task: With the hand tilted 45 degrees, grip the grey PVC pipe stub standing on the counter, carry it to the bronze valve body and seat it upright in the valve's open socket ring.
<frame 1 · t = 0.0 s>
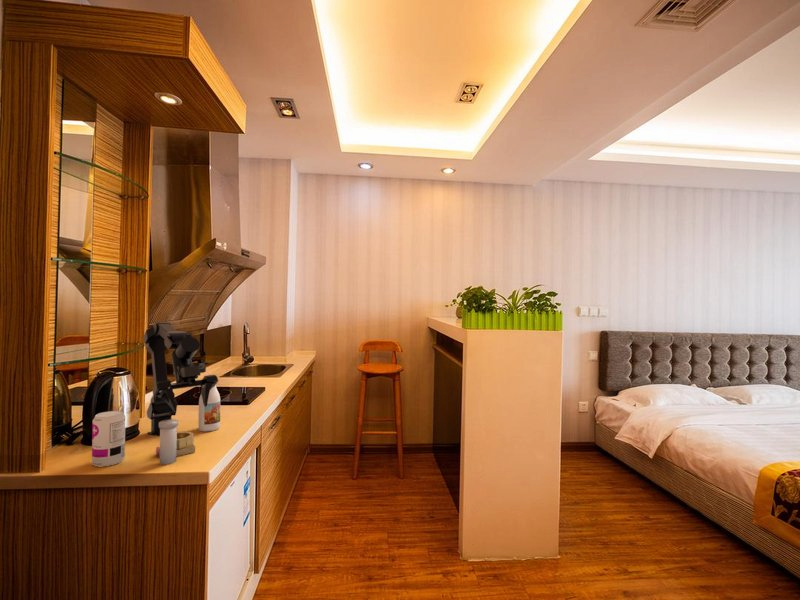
hand: (191, 409, 129), 15 cm above the counter, tool tilted 35°, fingers open, 9 cm apart
pipe stub: (168, 461, 123), on the counter
valve body: (179, 450, 133), on the counter
supplement can: (108, 463, 123), on the counter
milk bottle: (209, 429, 156), on the counter
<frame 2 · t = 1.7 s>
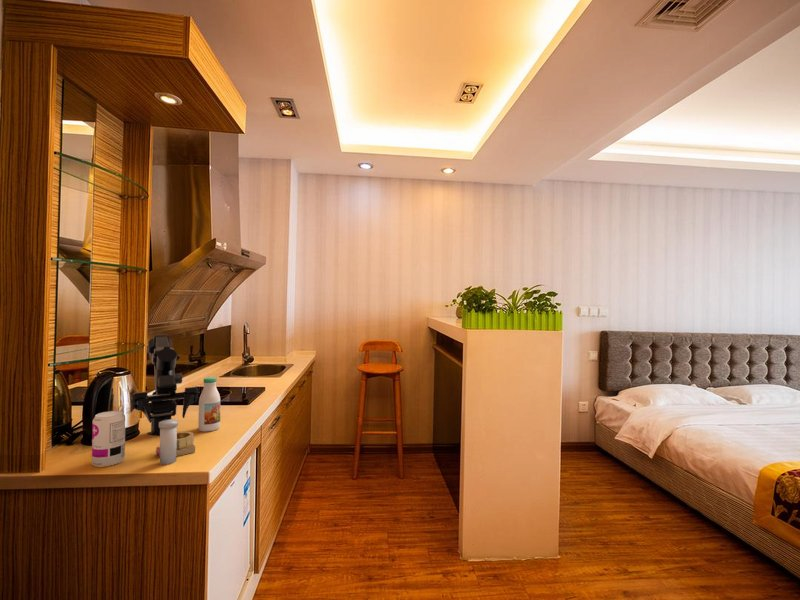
hand: (167, 419, 128), 12 cm above the counter, tool tilted 45°, fingers open, 9 cm apart
nothing on the counter moved.
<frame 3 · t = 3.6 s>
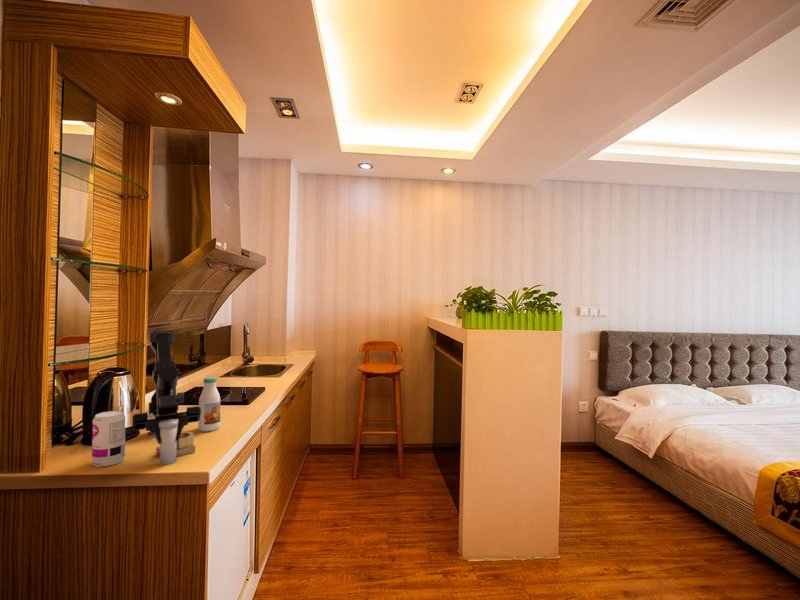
hand: (168, 442, 122), 7 cm above the counter, tool tilted 45°, fingers closed on pipe stub, 4 cm apart
pipe stub: (168, 461, 123), on the counter, touching gripper
everything else where it was.
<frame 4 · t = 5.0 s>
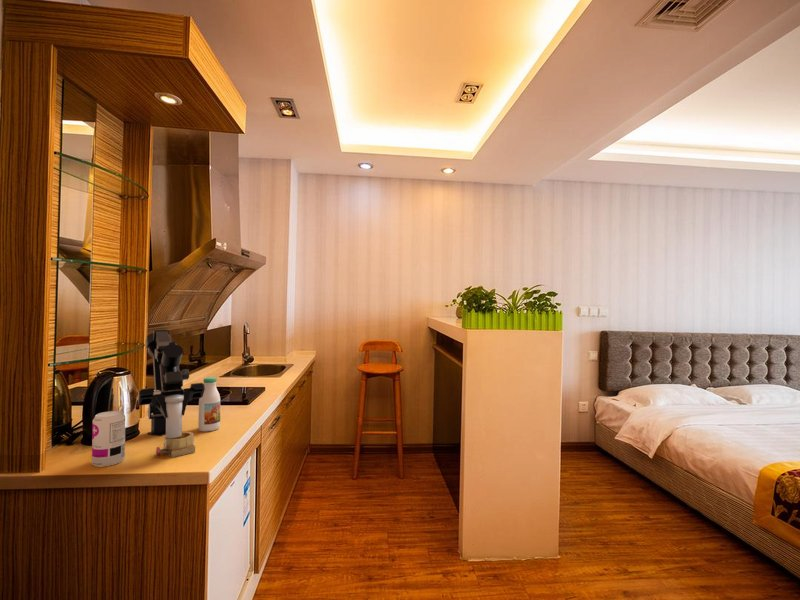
hand: (174, 416, 127), 13 cm above the counter, tool tilted 45°, fingers closed on pipe stub, 4 cm apart
pipe stub: (173, 435, 128), point 7 cm above the counter, touching gripper
everything else where it was.
when the fingers open (9 cm above the counter, at t = 6.7 s): pipe stub stays where it is, resting on valve body.
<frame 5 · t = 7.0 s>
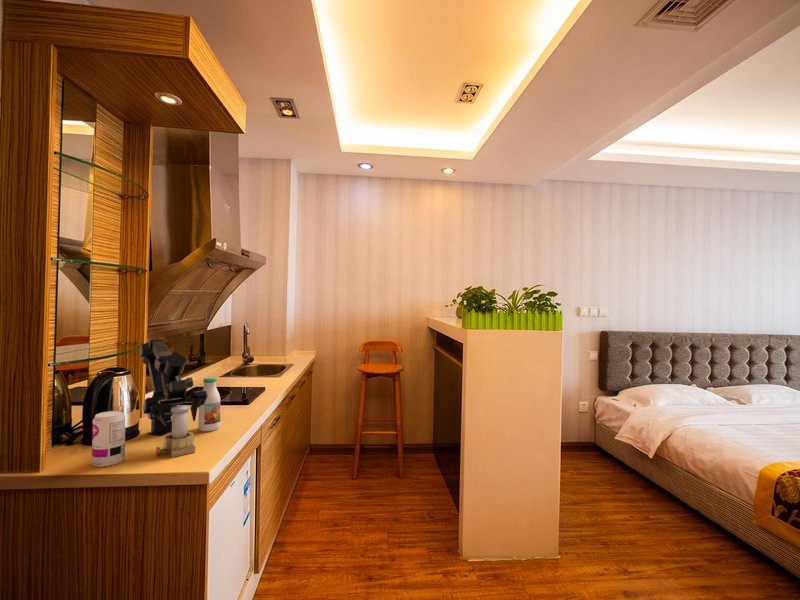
hand: (180, 423, 132), 10 cm above the counter, tool tilted 45°, fingers open, 8 cm apart
pipe stub: (179, 444, 133), point 2 cm above the counter, touching valve body
everything else where it was.
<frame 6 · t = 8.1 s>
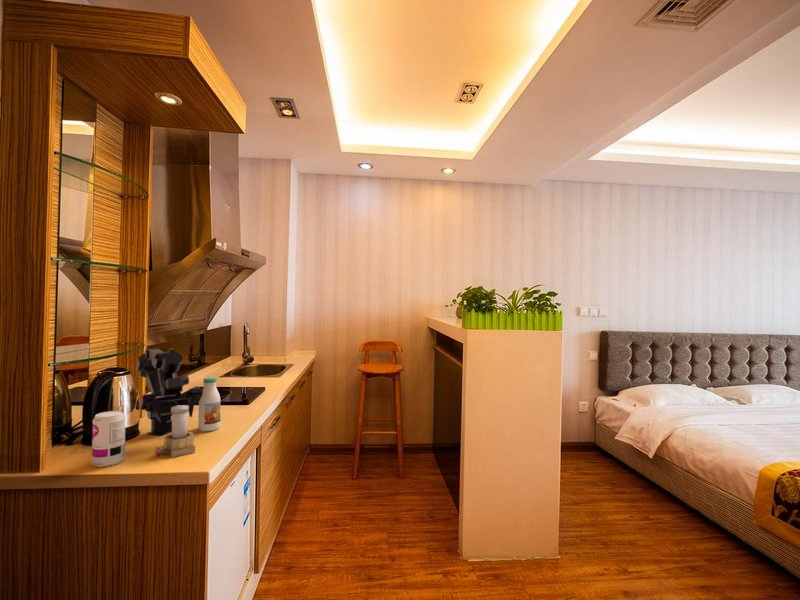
hand: (176, 419, 136), 10 cm above the counter, tool tilted 45°, fingers open, 9 cm apart
nothing on the counter moved.
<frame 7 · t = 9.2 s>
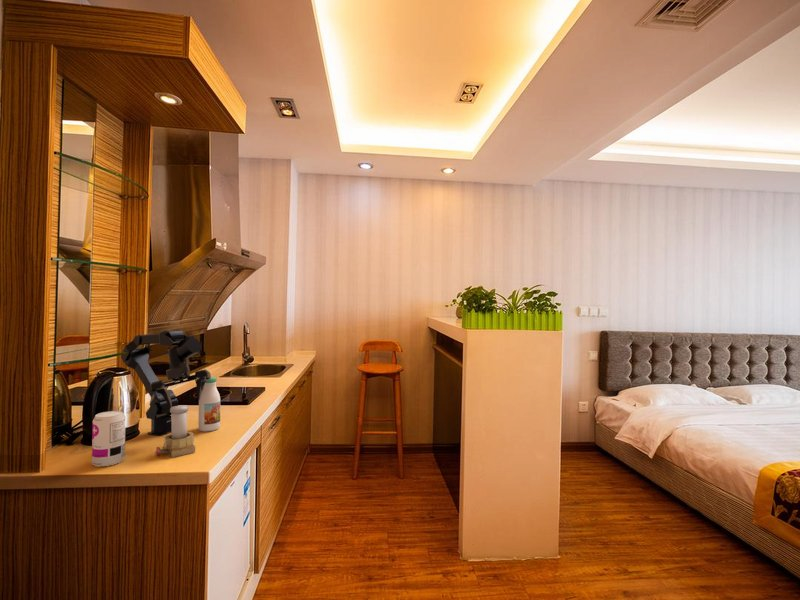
hand: (184, 404, 142), 13 cm above the counter, tool tilted 25°, fingers open, 9 cm apart
nothing on the counter moved.
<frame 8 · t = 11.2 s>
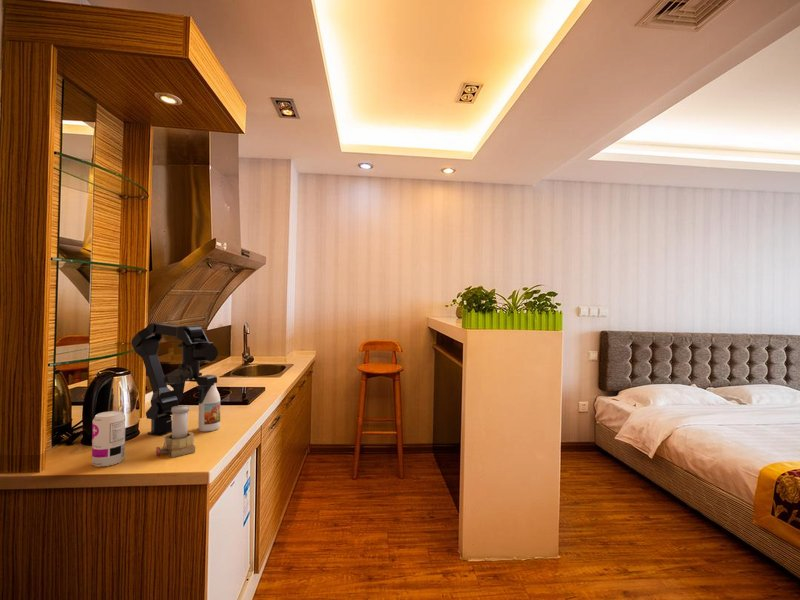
hand: (190, 402, 145), 13 cm above the counter, tool pointing down, fingers open, 9 cm apart
nothing on the counter moved.
at the end: pipe stub 0.1 cm off-centre on the valve body, point 2.0 cm above the valve body's base; pipe stub tilted 1°; the gripper is holding nothing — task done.
